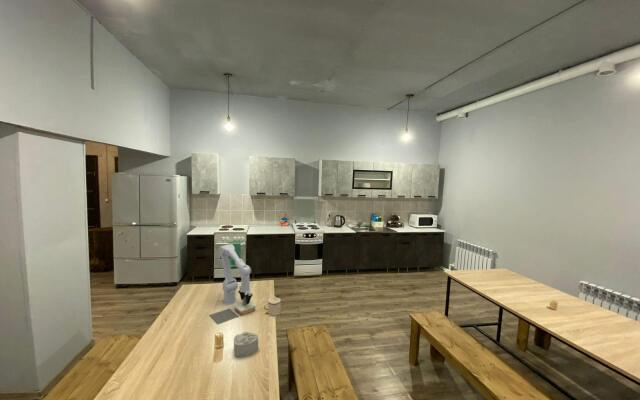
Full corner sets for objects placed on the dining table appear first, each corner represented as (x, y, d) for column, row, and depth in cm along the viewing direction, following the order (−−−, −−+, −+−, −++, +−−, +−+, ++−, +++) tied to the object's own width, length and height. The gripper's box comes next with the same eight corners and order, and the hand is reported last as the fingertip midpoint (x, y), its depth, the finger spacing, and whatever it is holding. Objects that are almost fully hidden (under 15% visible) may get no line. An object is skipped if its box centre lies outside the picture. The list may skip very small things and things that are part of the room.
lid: (232, 305, 194) (232, 298, 193) (248, 300, 202) (248, 293, 201) (240, 312, 185) (240, 304, 185) (256, 306, 193) (256, 299, 193)
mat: (208, 315, 186) (208, 315, 186) (229, 308, 196) (229, 308, 196) (217, 325, 175) (217, 324, 175) (239, 317, 185) (239, 316, 185)
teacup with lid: (280, 308, 198) (280, 293, 197) (281, 315, 189) (281, 299, 188) (263, 310, 195) (263, 294, 194) (263, 317, 186) (263, 300, 185)
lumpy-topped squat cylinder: (233, 346, 155) (233, 332, 154) (257, 342, 159) (257, 328, 158) (234, 358, 145) (234, 343, 144) (259, 353, 149) (259, 339, 148)
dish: (235, 310, 195) (235, 305, 194) (248, 306, 201) (248, 300, 201) (242, 316, 187) (242, 310, 187) (255, 311, 194) (255, 306, 194)
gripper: (235, 281, 195) (235, 299, 196) (245, 288, 184) (245, 307, 186) (244, 279, 200) (244, 296, 201) (254, 285, 189) (254, 304, 190)
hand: (245, 301), depth 194 cm, fingers open, 7 cm apart
